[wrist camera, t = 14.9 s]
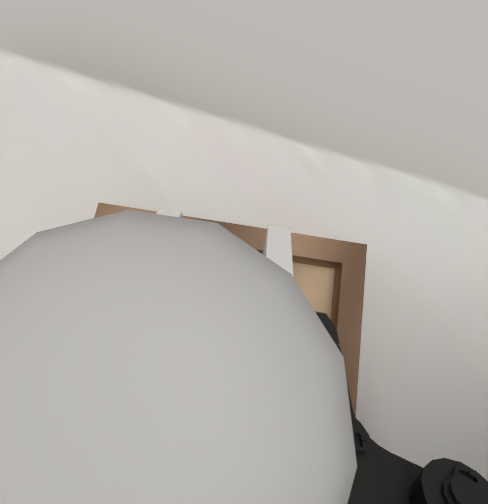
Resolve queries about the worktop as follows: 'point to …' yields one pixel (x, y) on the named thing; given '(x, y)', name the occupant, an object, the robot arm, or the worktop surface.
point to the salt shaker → (165, 371)
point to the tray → (315, 281)
